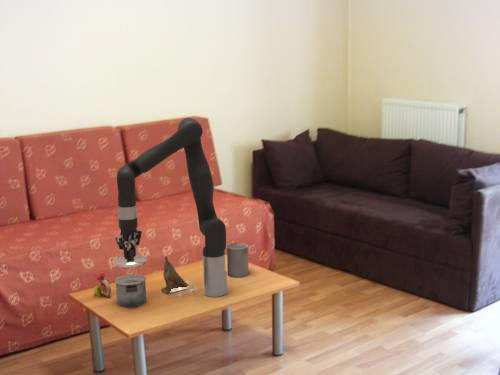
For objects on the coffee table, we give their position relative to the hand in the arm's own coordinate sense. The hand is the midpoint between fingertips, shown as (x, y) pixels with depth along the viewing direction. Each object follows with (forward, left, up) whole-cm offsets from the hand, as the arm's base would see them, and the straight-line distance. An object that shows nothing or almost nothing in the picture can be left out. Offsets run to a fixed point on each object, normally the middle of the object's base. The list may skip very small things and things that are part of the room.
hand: (130, 257), depth 289 cm
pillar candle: (-49, -22, -20) cm, 57 cm away
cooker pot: (0, -1, -20) cm, 20 cm away
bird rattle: (+11, -12, -20) cm, 26 cm away
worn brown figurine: (-19, -10, -20) cm, 29 cm away
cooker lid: (0, 0, -2) cm, 2 cm away
